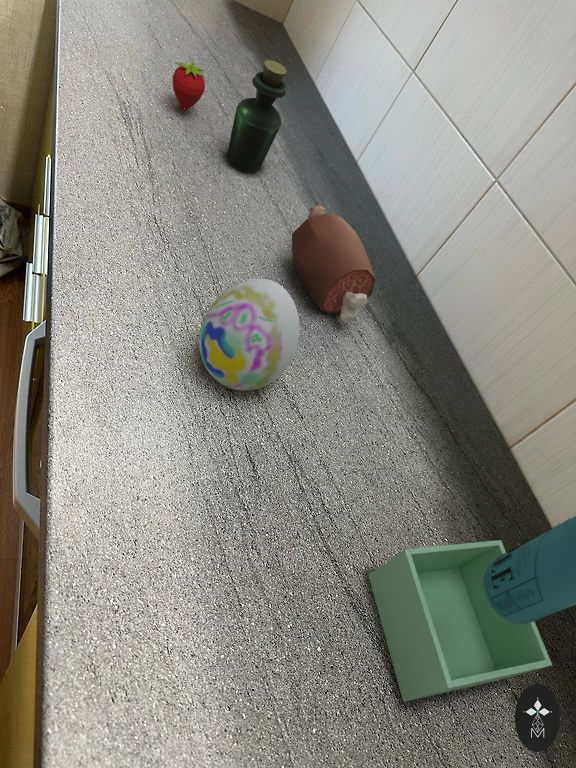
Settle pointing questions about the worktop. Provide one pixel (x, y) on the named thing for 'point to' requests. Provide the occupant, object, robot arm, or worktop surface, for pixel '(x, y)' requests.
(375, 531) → the worktop surface
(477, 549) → the bin
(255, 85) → the potion bottle
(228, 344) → the decorative egg
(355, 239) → the meat
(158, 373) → the worktop surface
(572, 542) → the beverage bottle
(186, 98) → the strawberry
